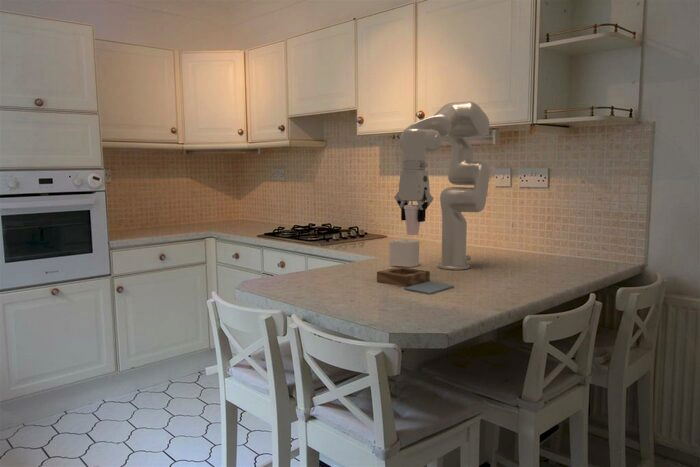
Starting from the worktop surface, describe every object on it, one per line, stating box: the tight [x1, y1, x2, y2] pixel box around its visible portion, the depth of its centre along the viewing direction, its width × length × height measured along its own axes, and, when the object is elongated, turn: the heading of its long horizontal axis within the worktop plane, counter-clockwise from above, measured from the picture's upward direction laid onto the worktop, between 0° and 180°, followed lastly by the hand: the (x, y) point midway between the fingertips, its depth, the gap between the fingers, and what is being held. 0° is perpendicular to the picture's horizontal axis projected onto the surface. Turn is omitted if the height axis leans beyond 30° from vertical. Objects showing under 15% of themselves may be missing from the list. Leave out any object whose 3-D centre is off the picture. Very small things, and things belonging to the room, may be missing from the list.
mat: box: [403, 281, 455, 295], centre depth 176 cm, size 14×10×1 cm
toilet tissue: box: [388, 238, 420, 268], centre depth 218 cm, size 11×12×10 cm
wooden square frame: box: [376, 266, 431, 288], centre depth 186 cm, size 13×13×4 cm
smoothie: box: [404, 201, 421, 236], centre depth 180 cm, size 6×6×14 cm
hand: (413, 220), depth 180 cm, fingers closed on smoothie, 6 cm apart
